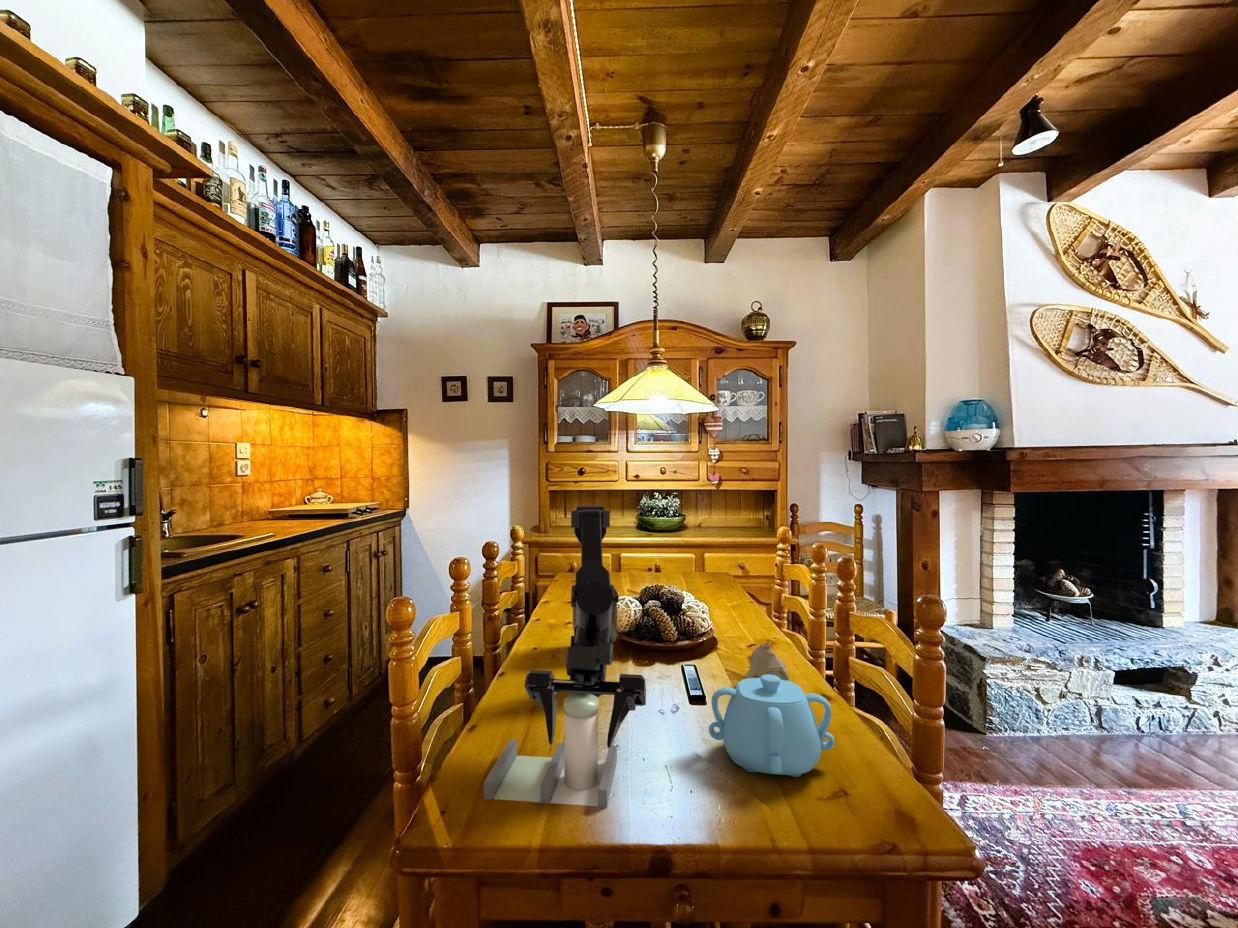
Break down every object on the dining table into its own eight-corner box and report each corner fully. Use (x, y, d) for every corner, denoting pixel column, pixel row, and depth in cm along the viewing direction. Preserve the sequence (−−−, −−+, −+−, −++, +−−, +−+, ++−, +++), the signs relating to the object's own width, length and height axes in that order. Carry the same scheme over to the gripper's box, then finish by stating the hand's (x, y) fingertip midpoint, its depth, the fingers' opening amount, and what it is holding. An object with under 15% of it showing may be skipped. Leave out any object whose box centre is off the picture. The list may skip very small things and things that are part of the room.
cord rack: (509, 760, 90) (509, 739, 90) (616, 767, 88) (616, 745, 88) (483, 806, 78) (483, 781, 78) (606, 815, 76) (606, 790, 76)
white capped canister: (558, 776, 84) (558, 697, 84) (589, 767, 86) (589, 690, 86) (572, 794, 79) (572, 711, 79) (604, 784, 82) (604, 703, 82)
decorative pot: (823, 735, 99) (823, 660, 99) (848, 802, 79) (848, 708, 79) (709, 726, 102) (709, 652, 102) (707, 787, 83) (707, 697, 83)
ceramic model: (802, 704, 112) (802, 655, 112) (746, 703, 112) (746, 654, 112) (784, 677, 126) (784, 633, 126) (735, 676, 126) (735, 632, 126)
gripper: (527, 619, 88) (505, 721, 77) (645, 623, 86) (639, 728, 75) (540, 652, 96) (521, 748, 85) (648, 656, 93) (643, 756, 83)
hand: (579, 745), depth 81 cm, fingers open, 8 cm apart
